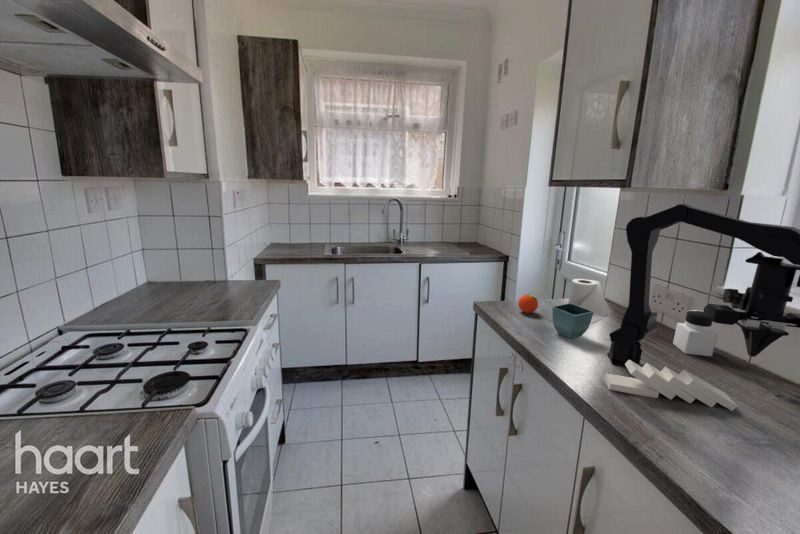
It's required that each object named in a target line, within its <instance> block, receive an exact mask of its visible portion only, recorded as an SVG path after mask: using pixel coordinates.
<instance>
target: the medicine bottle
mask: <svg viewBox="0 0 800 534" xmlns="http://www.w3.org/2000/svg"><path fill="white" fill-rule="evenodd" d="M703 311H704V310H699V309H691V310H688V311H686V315H685V320H684V322H677V324H676V328H675V333H674V337H673V341H672V344H673V345H674V346H675V347H676V348H677V349H679V351H681V352H683V353H684V354H686V355H693V356H704V357H713V354H714V350H715V345H716V344H717V338H718V333H717V332H715V331H714V330H712V329H711V328H712V325H713V321H711V320H710V319H709V318H707V317H706V316H705V315H703Z"/></svg>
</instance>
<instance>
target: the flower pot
mask: <svg viewBox="0 0 800 534" xmlns="http://www.w3.org/2000/svg"><path fill="white" fill-rule="evenodd" d="M594 313H595V312H594V311H593V310H590V309H587V308H586V307H583V306H580V305H577V304H574V303H571V302H570V303H564V304H560V305H554V306H552V323H553V326H554V330H555V331H556V333H557V334H558V335H561V336H564V337H565V338H567V339H571V340H572V339H576V338H580V337H582V336H583V335H584V334H585V333H586V332H587V330H588V329H589V328H590V325H591V322H592V318H593V316H594Z"/></svg>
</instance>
